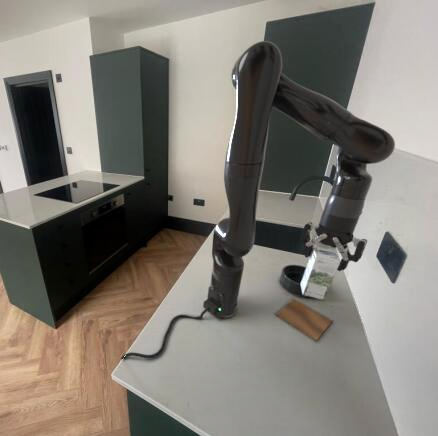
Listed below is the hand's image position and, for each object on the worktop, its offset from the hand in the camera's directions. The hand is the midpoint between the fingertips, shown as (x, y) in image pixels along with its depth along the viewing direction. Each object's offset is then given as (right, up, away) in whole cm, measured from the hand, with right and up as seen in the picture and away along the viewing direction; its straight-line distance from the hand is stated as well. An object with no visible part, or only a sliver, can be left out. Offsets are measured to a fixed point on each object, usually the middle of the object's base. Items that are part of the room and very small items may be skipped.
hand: (322, 262), depth 67 cm
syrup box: (0, -10, +5) cm, 11 cm away
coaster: (0, -20, +9) cm, 22 cm away
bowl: (+8, -14, +23) cm, 28 cm away
